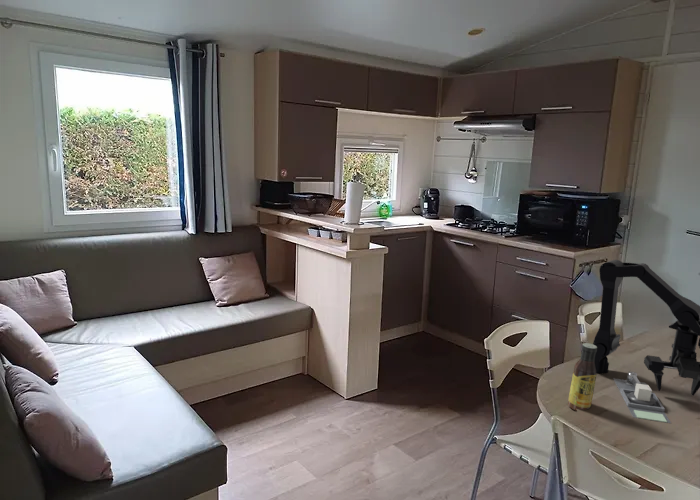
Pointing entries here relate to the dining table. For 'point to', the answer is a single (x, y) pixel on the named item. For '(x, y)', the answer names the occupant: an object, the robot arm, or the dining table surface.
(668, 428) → the dining table surface
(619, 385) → the socket base
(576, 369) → the sauce bottle
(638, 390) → the plug
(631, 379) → the pivoting lever handle
